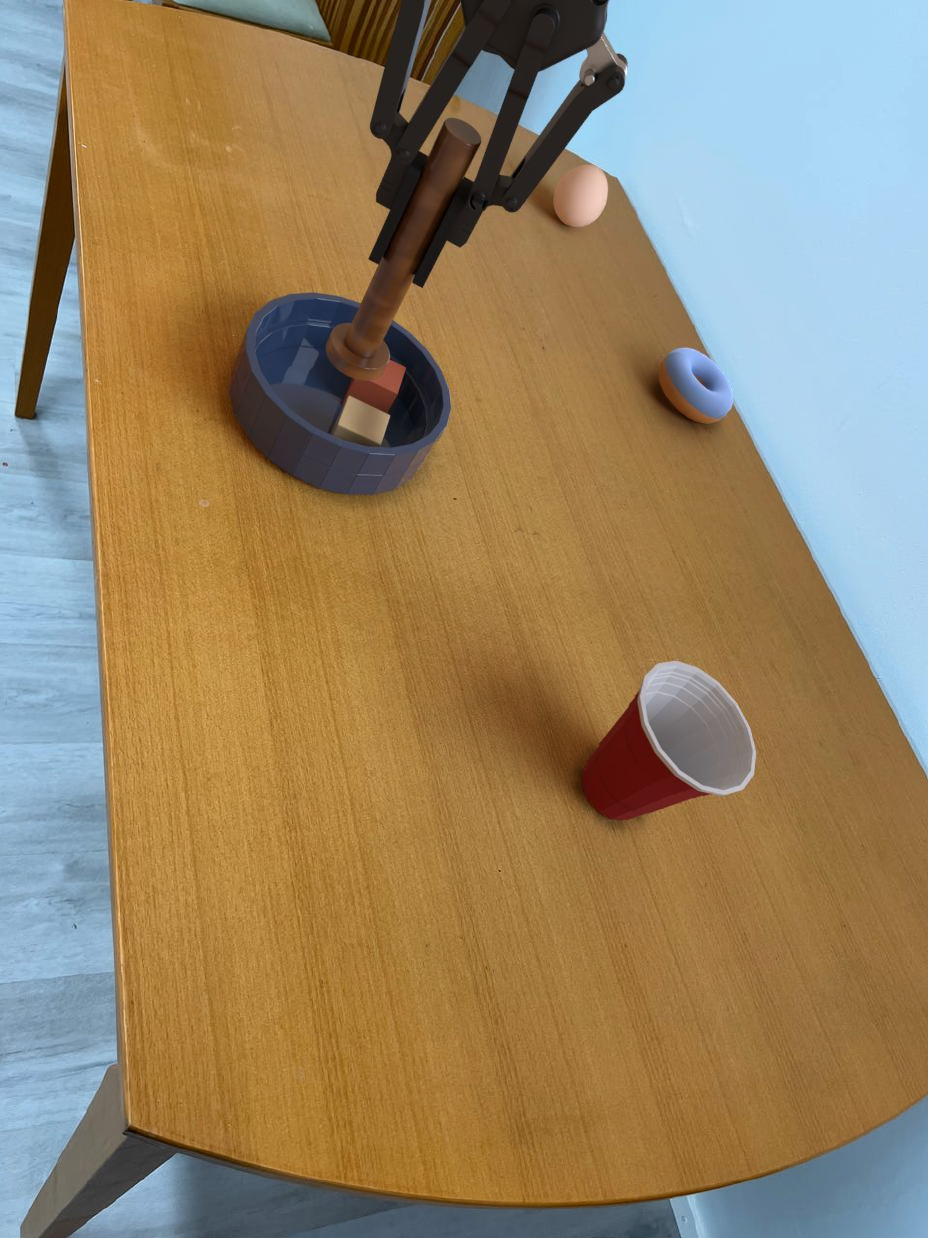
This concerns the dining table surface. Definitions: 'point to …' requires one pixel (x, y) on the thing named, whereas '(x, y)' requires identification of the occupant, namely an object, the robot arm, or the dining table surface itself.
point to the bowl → (331, 398)
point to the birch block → (360, 423)
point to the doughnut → (695, 385)
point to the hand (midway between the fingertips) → (400, 262)
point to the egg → (581, 195)
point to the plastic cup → (670, 746)
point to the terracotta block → (378, 387)
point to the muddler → (404, 254)
